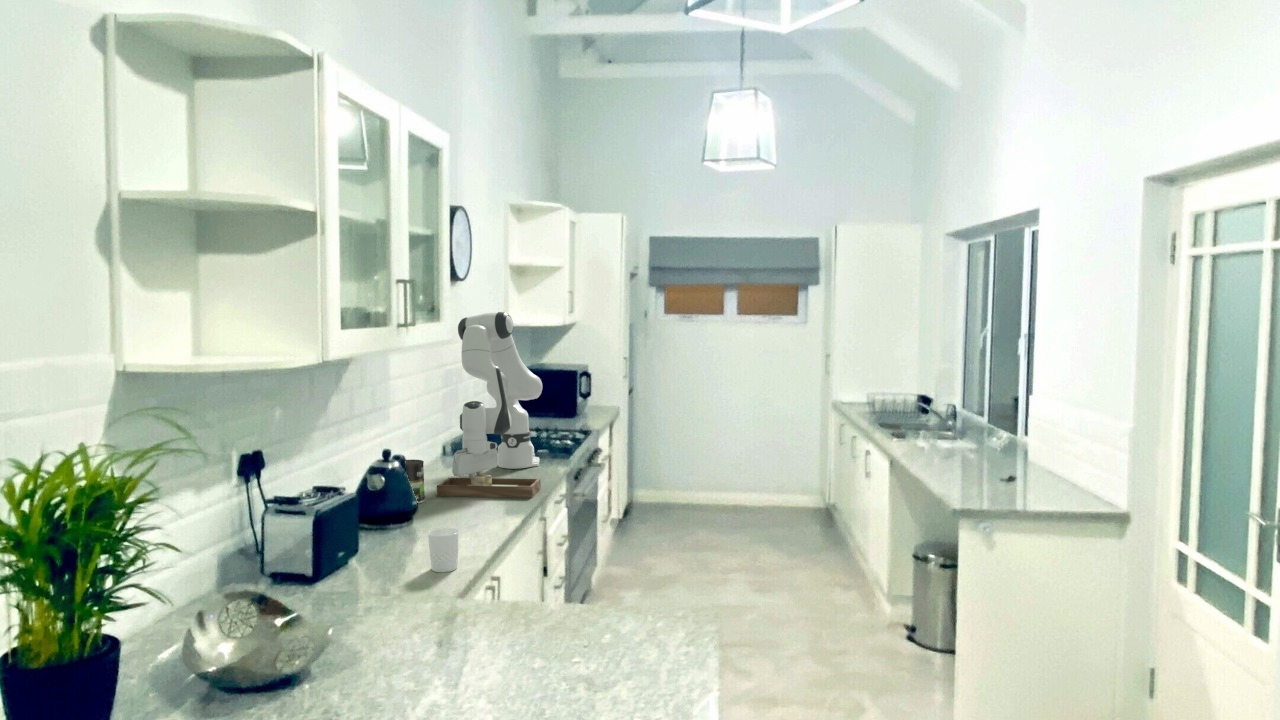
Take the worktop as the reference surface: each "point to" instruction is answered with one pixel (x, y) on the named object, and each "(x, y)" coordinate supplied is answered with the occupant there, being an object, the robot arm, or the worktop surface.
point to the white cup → (443, 549)
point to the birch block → (483, 480)
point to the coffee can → (416, 478)
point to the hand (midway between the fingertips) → (475, 484)
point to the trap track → (489, 488)
